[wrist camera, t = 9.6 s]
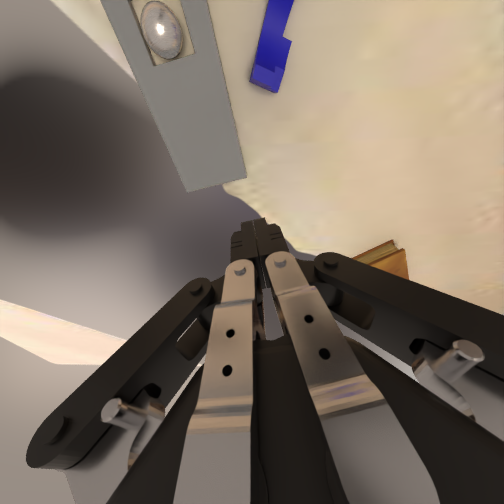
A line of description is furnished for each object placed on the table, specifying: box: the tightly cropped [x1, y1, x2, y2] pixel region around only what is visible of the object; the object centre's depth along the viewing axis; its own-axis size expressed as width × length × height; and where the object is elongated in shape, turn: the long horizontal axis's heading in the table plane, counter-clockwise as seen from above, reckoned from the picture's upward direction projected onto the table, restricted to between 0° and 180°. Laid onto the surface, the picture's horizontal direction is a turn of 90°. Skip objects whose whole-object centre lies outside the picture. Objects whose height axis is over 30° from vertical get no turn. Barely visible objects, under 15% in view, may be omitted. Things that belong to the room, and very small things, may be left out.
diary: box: [351, 240, 409, 280], centre depth 61 cm, size 23×19×6 cm
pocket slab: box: [100, 0, 247, 193], centre depth 31 cm, size 28×13×2 cm, turn 12°
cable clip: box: [249, 0, 294, 93], centre depth 26 cm, size 12×4×6 cm, turn 162°
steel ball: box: [141, 1, 182, 59], centre depth 25 cm, size 5×5×5 cm
